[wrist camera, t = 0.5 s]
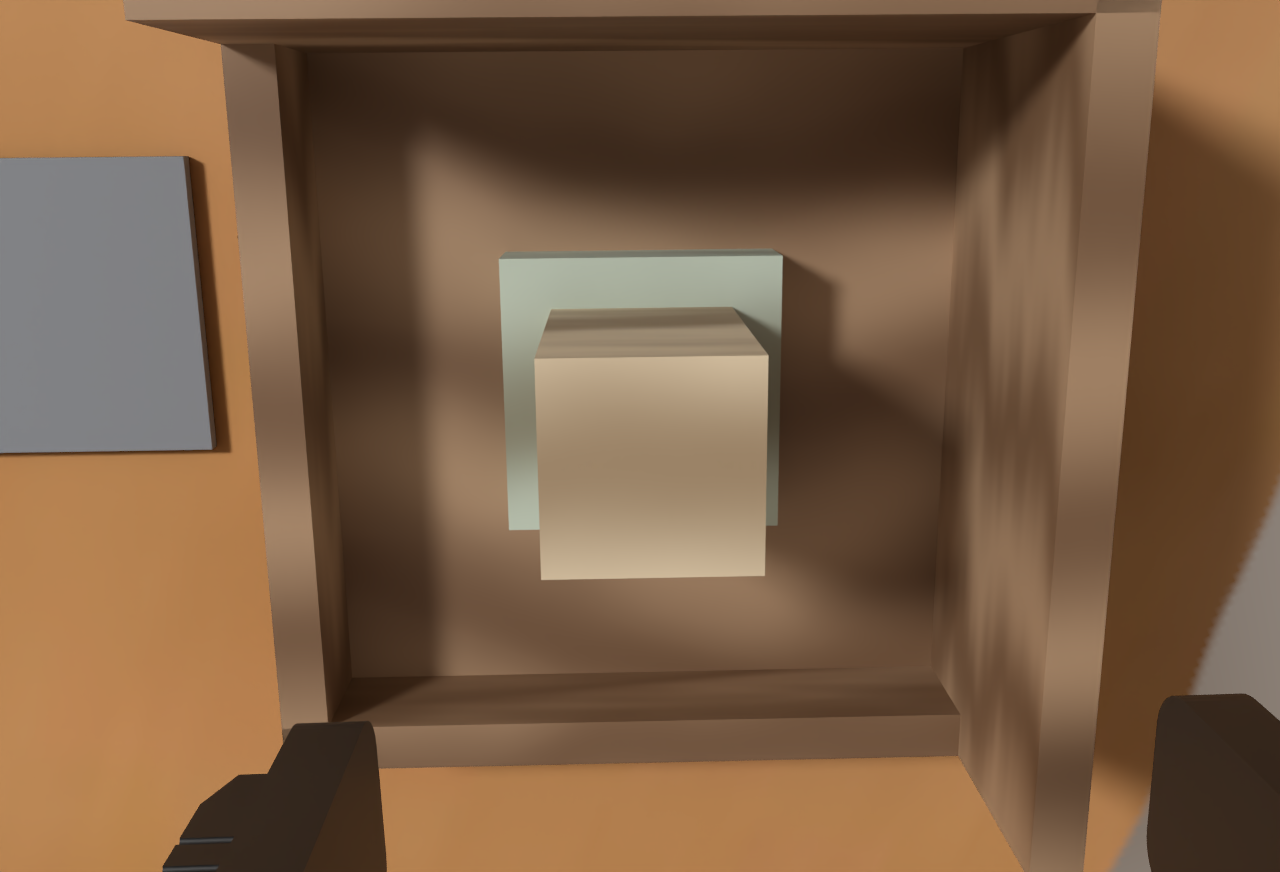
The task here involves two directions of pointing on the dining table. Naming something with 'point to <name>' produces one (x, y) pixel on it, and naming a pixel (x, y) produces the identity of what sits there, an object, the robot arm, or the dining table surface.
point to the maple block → (651, 444)
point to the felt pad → (101, 307)
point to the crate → (697, 277)
